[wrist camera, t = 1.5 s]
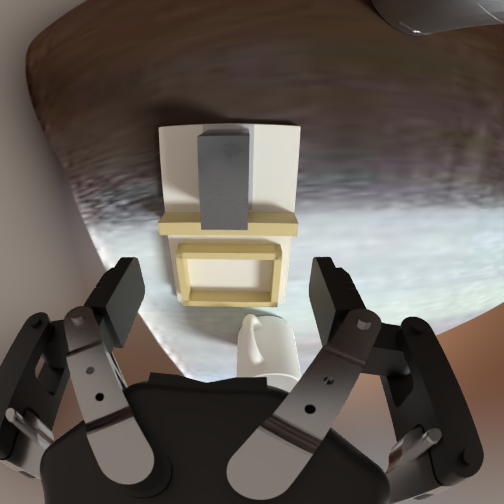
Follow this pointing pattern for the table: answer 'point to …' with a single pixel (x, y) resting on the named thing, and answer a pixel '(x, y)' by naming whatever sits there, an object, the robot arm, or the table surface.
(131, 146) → the table surface
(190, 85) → the table surface
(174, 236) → the white fixture board
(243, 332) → the mug
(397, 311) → the table surface
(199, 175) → the block
